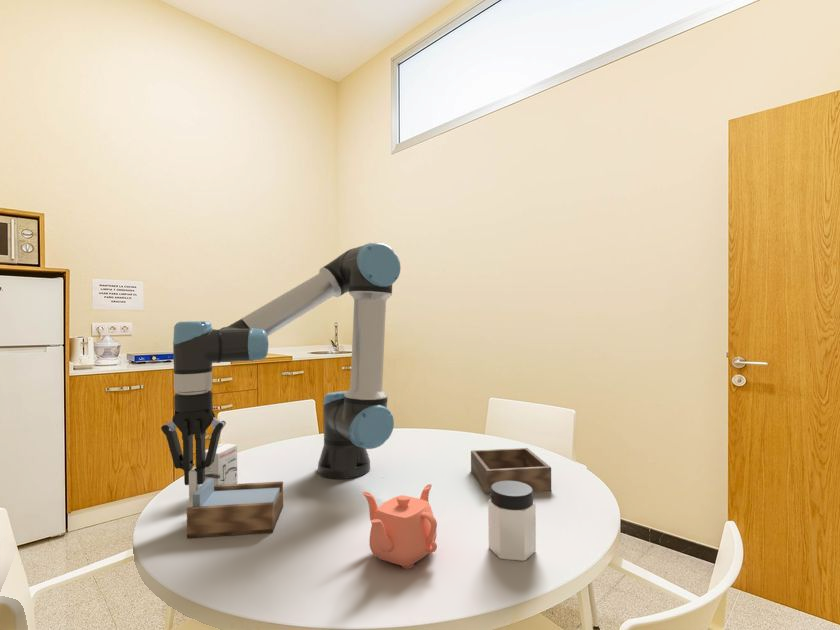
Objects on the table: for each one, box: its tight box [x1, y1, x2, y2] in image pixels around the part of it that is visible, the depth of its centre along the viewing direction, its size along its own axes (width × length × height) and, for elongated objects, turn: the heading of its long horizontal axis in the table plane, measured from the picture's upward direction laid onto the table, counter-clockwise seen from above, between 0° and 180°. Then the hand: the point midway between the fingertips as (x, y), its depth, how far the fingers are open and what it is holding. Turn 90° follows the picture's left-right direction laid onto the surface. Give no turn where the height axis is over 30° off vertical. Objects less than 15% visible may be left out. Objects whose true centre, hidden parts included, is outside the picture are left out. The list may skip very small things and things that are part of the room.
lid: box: [192, 479, 280, 507], centre depth 101 cm, size 16×10×4 cm, turn 97°
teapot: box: [361, 484, 438, 569], centre depth 86 cm, size 14×14×11 cm
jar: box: [487, 481, 537, 562], centre depth 88 cm, size 9×8×12 cm
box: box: [186, 481, 284, 539], centre depth 101 cm, size 17×13×6 cm
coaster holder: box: [470, 447, 552, 495], centre depth 124 cm, size 17×17×6 cm
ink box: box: [201, 443, 238, 485], centre depth 116 cm, size 9×5×12 cm, turn 168°
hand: (195, 498), depth 99 cm, fingers closed
